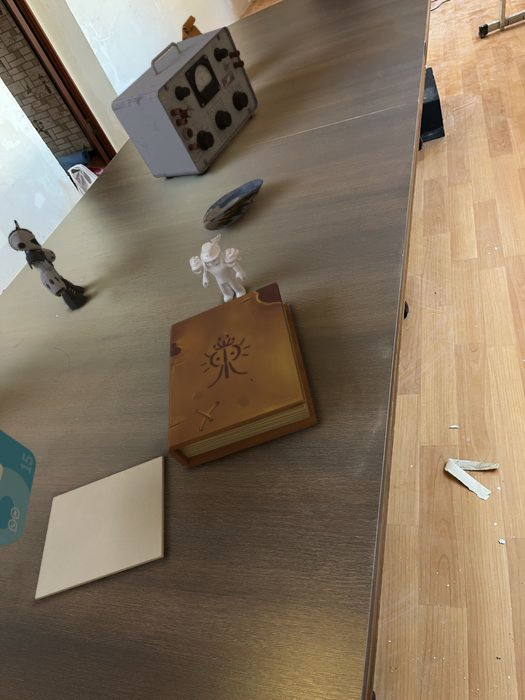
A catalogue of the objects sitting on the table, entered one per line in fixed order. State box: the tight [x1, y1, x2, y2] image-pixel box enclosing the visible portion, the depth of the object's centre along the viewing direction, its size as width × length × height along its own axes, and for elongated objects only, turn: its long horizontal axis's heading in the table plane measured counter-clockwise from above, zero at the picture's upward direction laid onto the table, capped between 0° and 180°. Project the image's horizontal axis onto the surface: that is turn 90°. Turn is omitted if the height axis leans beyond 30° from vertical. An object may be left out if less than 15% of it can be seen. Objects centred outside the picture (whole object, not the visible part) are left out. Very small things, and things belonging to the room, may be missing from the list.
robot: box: [7, 219, 89, 311], centre depth 101 cm, size 20×5×20 cm, turn 28°
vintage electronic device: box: [110, 26, 259, 180], centre depth 124 cm, size 32×18×25 cm, turn 150°
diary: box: [167, 281, 319, 468], centre depth 69 cm, size 23×19×6 cm
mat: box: [34, 455, 165, 601], centre depth 64 cm, size 18×14×1 cm
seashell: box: [201, 178, 264, 232], centre depth 101 cm, size 15×12×5 cm
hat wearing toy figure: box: [189, 233, 247, 303], centre depth 82 cm, size 9×4×12 cm, turn 80°
